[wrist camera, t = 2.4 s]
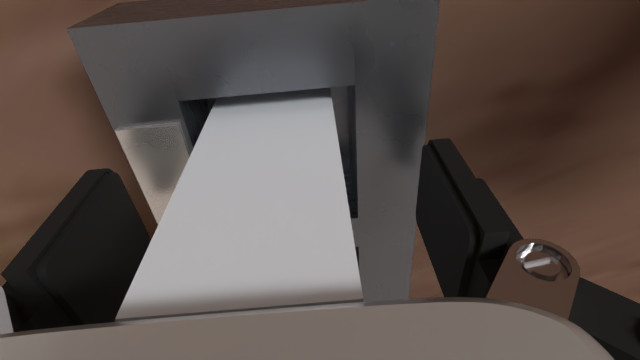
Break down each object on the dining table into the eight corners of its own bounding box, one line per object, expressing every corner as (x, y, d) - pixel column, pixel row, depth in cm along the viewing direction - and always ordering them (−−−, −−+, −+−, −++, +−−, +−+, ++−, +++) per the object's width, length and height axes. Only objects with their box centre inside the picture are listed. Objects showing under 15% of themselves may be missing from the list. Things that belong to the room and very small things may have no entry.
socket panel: (409, -25, 12) (442, -5, 10) (387, 350, 27) (398, 404, 24) (118, 3, 13) (62, 30, 10) (250, 361, 27) (244, 416, 24)
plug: (327, 74, 14) (370, 346, 5) (333, 162, 16) (370, 450, 8) (223, 83, 14) (92, 369, 5) (244, 169, 16) (178, 464, 8)
